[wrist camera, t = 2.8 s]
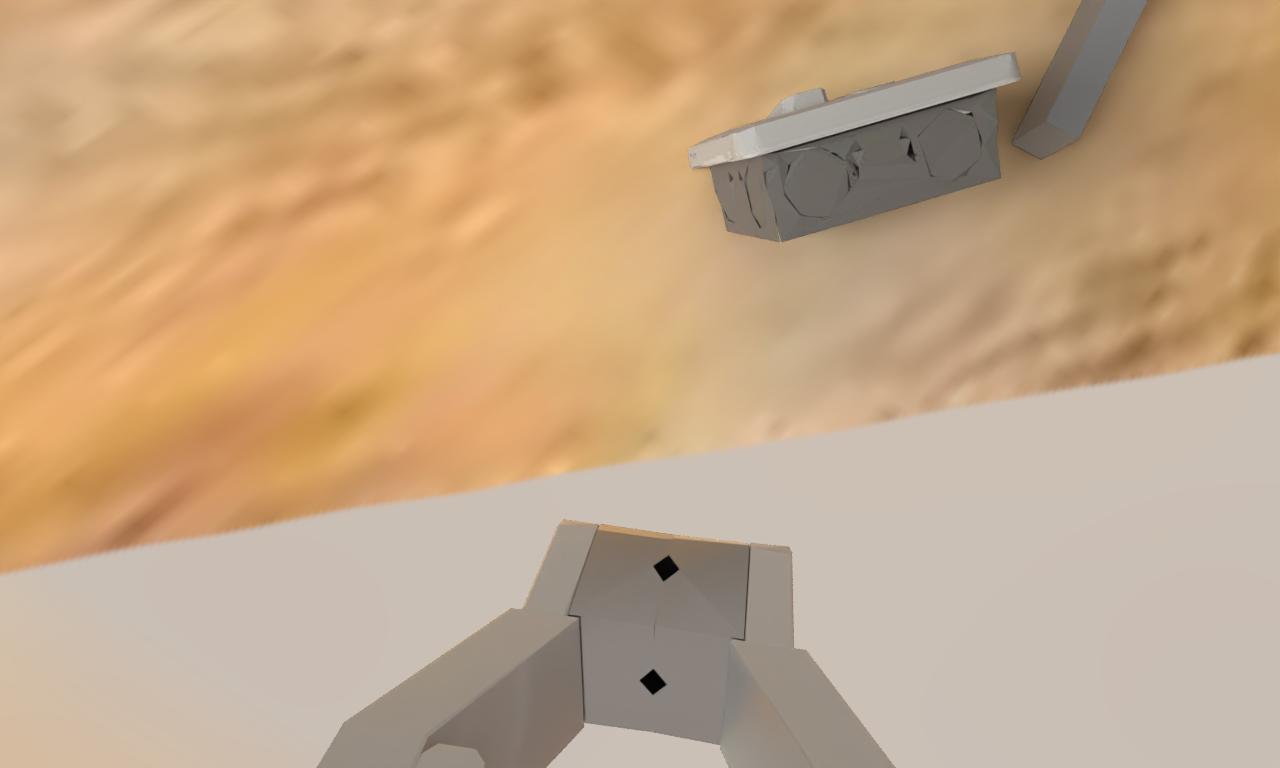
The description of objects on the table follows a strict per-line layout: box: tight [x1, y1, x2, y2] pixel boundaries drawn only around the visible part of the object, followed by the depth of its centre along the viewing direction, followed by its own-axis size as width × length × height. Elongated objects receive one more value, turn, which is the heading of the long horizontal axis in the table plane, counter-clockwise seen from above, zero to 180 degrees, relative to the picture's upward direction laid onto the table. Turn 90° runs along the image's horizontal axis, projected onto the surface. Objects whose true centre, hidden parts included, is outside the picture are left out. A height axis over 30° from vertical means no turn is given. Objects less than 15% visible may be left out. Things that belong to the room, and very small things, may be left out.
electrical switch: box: [687, 52, 1020, 242], centre depth 26 cm, size 9×5×9 cm, turn 107°
